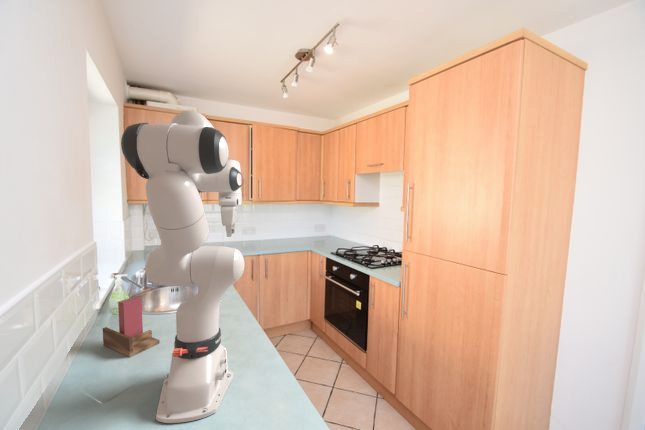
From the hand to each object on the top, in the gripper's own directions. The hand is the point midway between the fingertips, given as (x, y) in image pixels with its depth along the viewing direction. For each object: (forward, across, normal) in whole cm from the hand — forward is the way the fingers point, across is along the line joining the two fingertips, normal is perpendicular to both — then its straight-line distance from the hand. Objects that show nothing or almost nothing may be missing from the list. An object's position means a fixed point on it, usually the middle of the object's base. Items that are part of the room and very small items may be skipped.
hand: (230, 235), depth 114 cm
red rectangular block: (+36, +10, -33) cm, 50 cm away
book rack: (+37, +10, -33) cm, 51 cm away
